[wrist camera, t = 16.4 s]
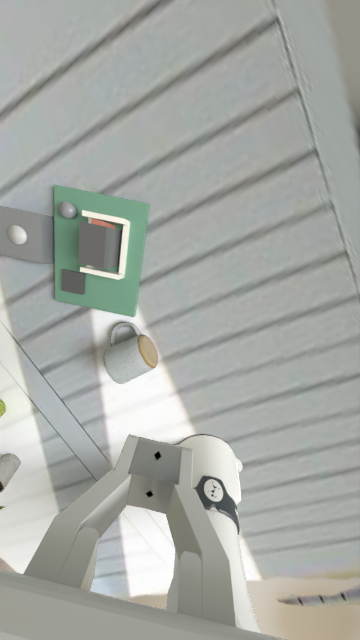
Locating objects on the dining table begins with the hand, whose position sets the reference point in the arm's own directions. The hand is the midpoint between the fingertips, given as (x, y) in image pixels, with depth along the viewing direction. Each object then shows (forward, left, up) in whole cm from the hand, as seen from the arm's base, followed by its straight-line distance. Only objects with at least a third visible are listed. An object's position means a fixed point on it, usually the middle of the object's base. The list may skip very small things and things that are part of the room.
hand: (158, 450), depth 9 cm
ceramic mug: (-12, +9, -31) cm, 35 cm away
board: (+5, +18, -31) cm, 36 cm away
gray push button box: (+6, +31, -31) cm, 44 cm away
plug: (+7, +16, -30) cm, 35 cm away
